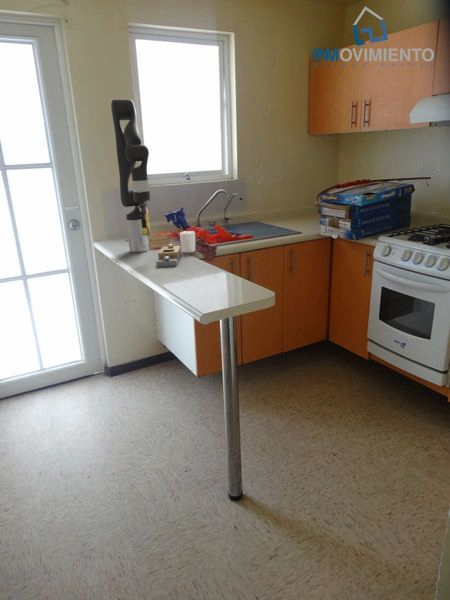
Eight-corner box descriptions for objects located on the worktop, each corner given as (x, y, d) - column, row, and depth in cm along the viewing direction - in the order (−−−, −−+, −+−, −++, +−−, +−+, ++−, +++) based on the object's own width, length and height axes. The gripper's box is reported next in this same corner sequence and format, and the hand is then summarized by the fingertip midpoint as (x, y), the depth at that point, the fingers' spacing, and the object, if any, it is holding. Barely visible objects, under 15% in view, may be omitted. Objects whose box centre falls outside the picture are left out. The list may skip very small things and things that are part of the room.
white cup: (182, 253, 222) (181, 234, 219) (180, 250, 229) (178, 232, 226) (197, 251, 224) (196, 232, 221) (194, 249, 231) (193, 230, 228)
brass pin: (141, 235, 206) (138, 210, 202) (143, 234, 210) (140, 209, 206) (149, 235, 206) (146, 210, 202) (151, 233, 210) (148, 208, 206)
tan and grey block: (156, 267, 197) (155, 253, 195) (163, 256, 218) (162, 243, 216) (176, 266, 197) (174, 252, 195) (181, 255, 218) (180, 242, 216)
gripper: (136, 189, 208) (140, 225, 213) (129, 192, 194) (134, 230, 200) (151, 188, 208) (155, 224, 213) (146, 191, 194) (150, 229, 200)
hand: (145, 226), depth 207 cm, fingers closed on brass pin, 4 cm apart
